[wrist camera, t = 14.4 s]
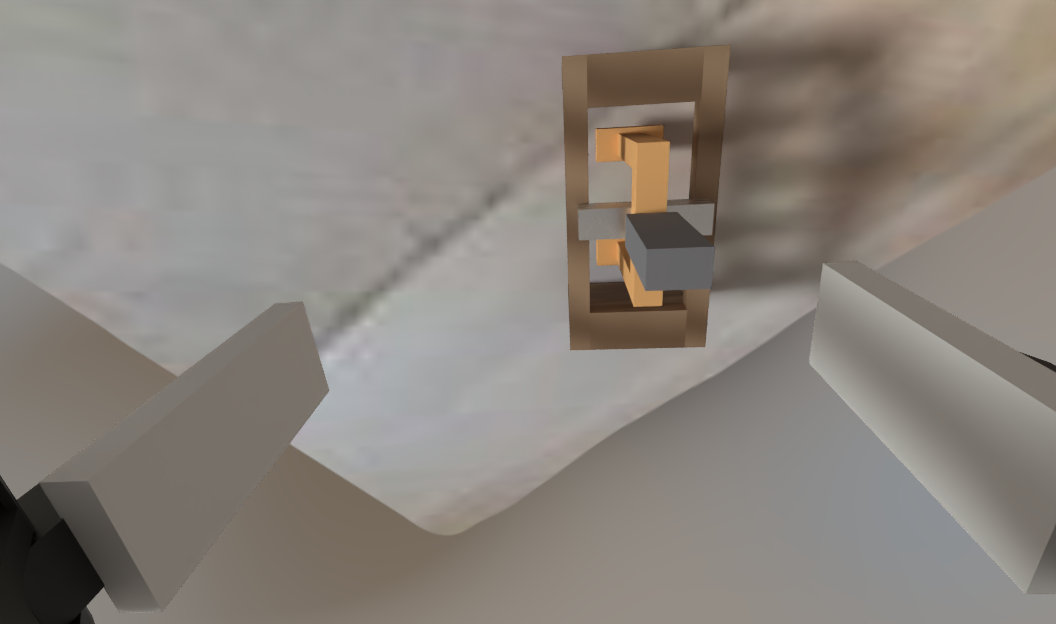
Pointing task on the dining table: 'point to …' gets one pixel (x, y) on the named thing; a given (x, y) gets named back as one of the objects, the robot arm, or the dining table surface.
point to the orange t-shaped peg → (651, 222)
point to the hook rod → (611, 217)
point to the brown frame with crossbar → (685, 77)
